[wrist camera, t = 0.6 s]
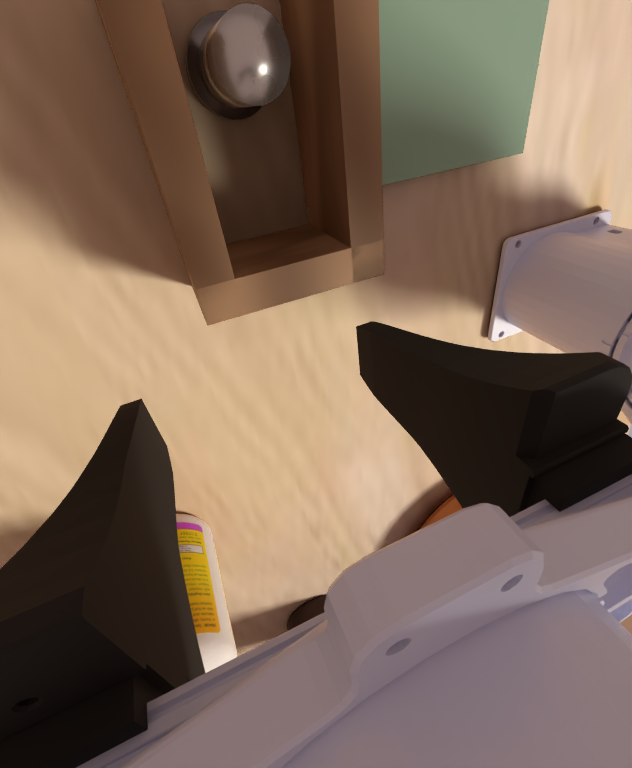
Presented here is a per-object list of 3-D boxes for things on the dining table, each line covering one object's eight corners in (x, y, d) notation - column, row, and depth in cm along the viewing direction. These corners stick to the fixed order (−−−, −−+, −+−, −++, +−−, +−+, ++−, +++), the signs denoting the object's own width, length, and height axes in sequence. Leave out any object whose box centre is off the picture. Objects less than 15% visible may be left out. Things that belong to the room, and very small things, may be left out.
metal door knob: (259, 8, 15) (293, -20, 12) (276, 113, 17) (308, 111, 14) (173, 17, 14) (185, -11, 11) (200, 125, 16) (217, 126, 13)
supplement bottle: (96, 540, 26) (78, 789, 17) (187, 495, 27) (220, 704, 18) (147, 581, 31) (157, 798, 21) (224, 540, 32) (269, 730, 22)
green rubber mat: (576, -231, 15) (591, -242, 15) (514, 152, 23) (522, 153, 22) (318, -248, 12) (325, -262, 12) (348, 190, 20) (353, 192, 20)
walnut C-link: (314, -25, 15) (377, -74, 12) (339, 247, 22) (383, 273, 18) (92, -7, 13) (79, -57, 10) (191, 286, 20) (207, 325, 16)
